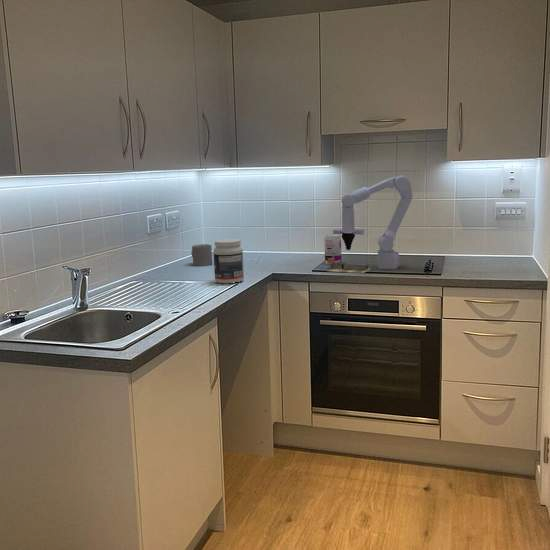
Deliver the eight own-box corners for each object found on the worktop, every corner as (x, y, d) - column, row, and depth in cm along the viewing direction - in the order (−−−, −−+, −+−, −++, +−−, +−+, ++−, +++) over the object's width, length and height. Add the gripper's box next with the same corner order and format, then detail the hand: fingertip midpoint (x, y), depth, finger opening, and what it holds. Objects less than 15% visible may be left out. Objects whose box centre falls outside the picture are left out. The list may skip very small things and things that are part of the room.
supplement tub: (217, 279, 281) (215, 238, 278) (245, 278, 280) (243, 238, 277) (212, 285, 268) (210, 242, 265) (242, 284, 267) (240, 242, 264)
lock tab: (334, 262, 292) (334, 258, 292) (332, 263, 290) (332, 258, 290) (329, 262, 293) (329, 257, 293) (328, 262, 292) (328, 258, 291)
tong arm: (367, 268, 285) (367, 263, 285) (365, 269, 283) (365, 264, 282) (339, 267, 292) (338, 261, 291) (336, 268, 289) (336, 262, 289)
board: (371, 271, 288) (371, 268, 288) (363, 275, 277) (363, 272, 277) (335, 269, 296) (335, 266, 296) (325, 273, 285) (325, 271, 285)
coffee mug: (215, 264, 321) (214, 245, 319) (198, 267, 316) (197, 247, 314) (204, 261, 332) (203, 243, 330) (187, 263, 327) (186, 245, 325)
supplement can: (341, 264, 310) (341, 234, 307) (341, 266, 301) (341, 236, 299) (325, 264, 310) (324, 234, 308) (324, 267, 302) (324, 236, 300)
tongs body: (368, 269, 286) (368, 264, 286) (365, 270, 283) (365, 265, 283) (333, 267, 294) (333, 262, 294) (330, 268, 291) (330, 264, 290)
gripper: (365, 219, 287) (366, 248, 289) (336, 219, 293) (336, 247, 296) (360, 221, 281) (361, 251, 283) (330, 220, 287) (331, 250, 290)
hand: (348, 249), depth 289 cm, fingers closed
